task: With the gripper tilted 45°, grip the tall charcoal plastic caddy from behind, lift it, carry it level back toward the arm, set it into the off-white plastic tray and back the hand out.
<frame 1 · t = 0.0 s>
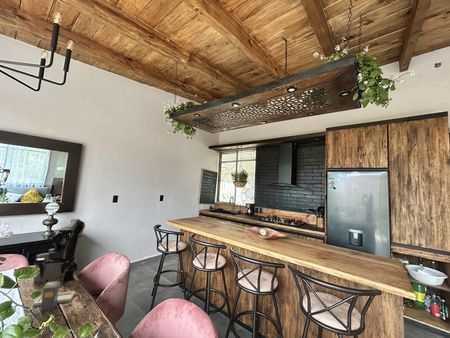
hand: (51, 277, 113), 15 cm above the table, tool tilted 35°, fingers open, 9 cm apart
tray: (54, 299, 117), on the table
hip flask: (48, 278, 141), on the table
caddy: (48, 307, 110), on the table
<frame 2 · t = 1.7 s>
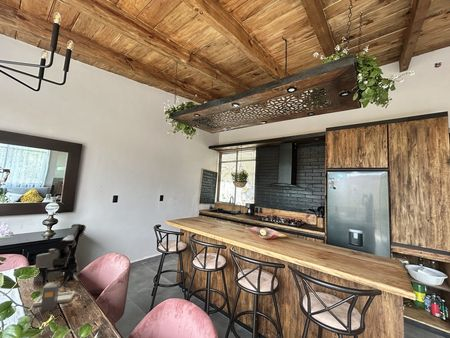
hand: (53, 285, 114), 10 cm above the table, tool tilted 45°, fingers open, 9 cm apart
nothing on the table moved.
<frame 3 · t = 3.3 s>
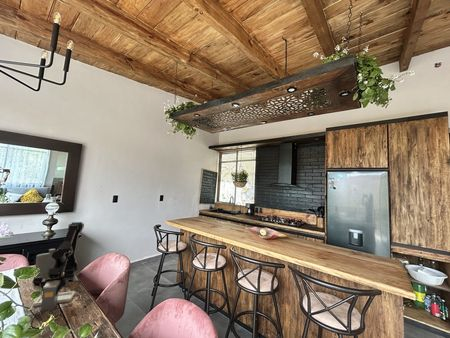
hand: (49, 296, 110), 7 cm above the table, tool tilted 45°, fingers closed on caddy, 5 cm apart
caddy: (48, 307, 110), on the table, touching gripper
everything else where it was.
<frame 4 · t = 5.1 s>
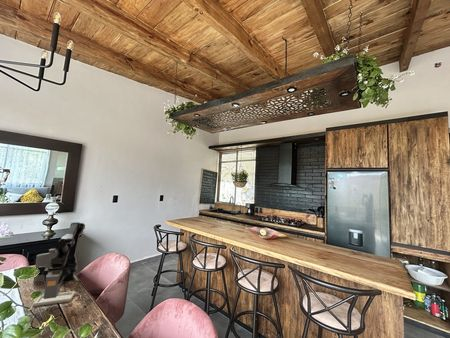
hand: (52, 284, 112), 12 cm above the table, tool tilted 45°, fingers closed on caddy, 5 cm apart
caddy: (51, 295, 113), point 5 cm above the table, touching gripper
everything else where it was.
when the fingers open (8 cm above the table, at t = 7.0 s): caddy stays where it is, resting on tray.
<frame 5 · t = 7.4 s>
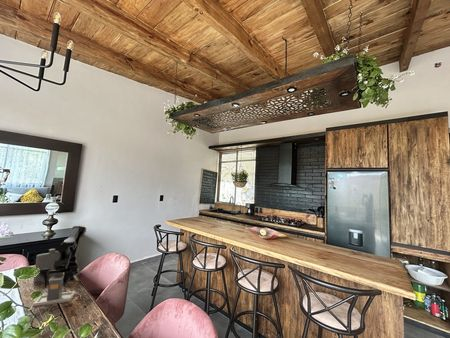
hand: (55, 286, 117), 8 cm above the table, tool tilted 45°, fingers open, 9 cm apart
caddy: (54, 298, 117), point 1 cm above the table, touching tray
everything else where it was.
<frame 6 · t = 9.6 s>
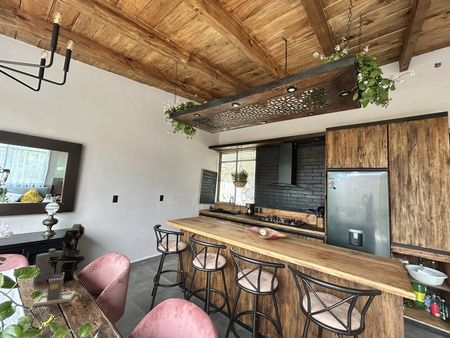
hand: (63, 274, 124), 12 cm above the table, tool tilted 30°, fingers open, 9 cm apart
nothing on the table moved.
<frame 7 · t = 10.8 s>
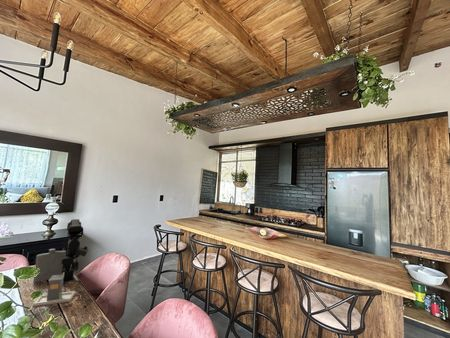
hand: (70, 269, 131), 12 cm above the table, tool pointing down, fingers open, 9 cm apart
nothing on the table moved.
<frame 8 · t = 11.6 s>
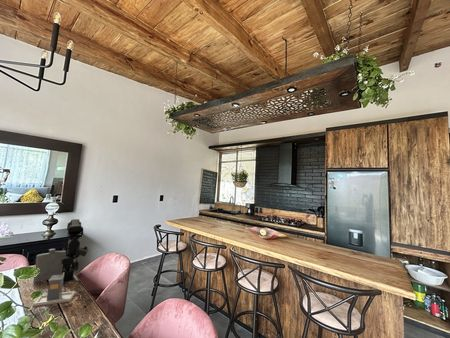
hand: (70, 269, 131), 12 cm above the table, tool pointing down, fingers open, 9 cm apart
nothing on the table moved.
at the end: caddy 0.1 cm off-centre on the tray, point 0.6 cm above the tray's base; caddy tilted 0°; the gripper is holding nothing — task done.
